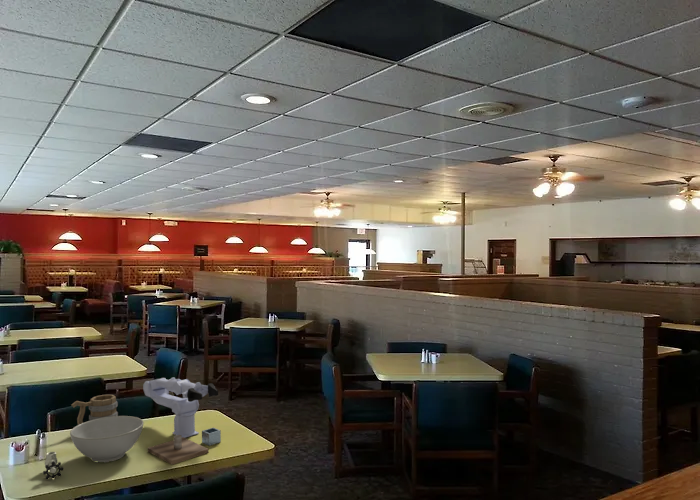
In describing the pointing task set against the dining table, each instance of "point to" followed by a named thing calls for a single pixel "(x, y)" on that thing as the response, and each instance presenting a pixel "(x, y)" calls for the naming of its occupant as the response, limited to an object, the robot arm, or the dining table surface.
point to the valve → (52, 465)
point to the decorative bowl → (107, 437)
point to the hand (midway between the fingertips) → (209, 394)
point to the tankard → (98, 407)
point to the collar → (211, 436)
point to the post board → (177, 450)
